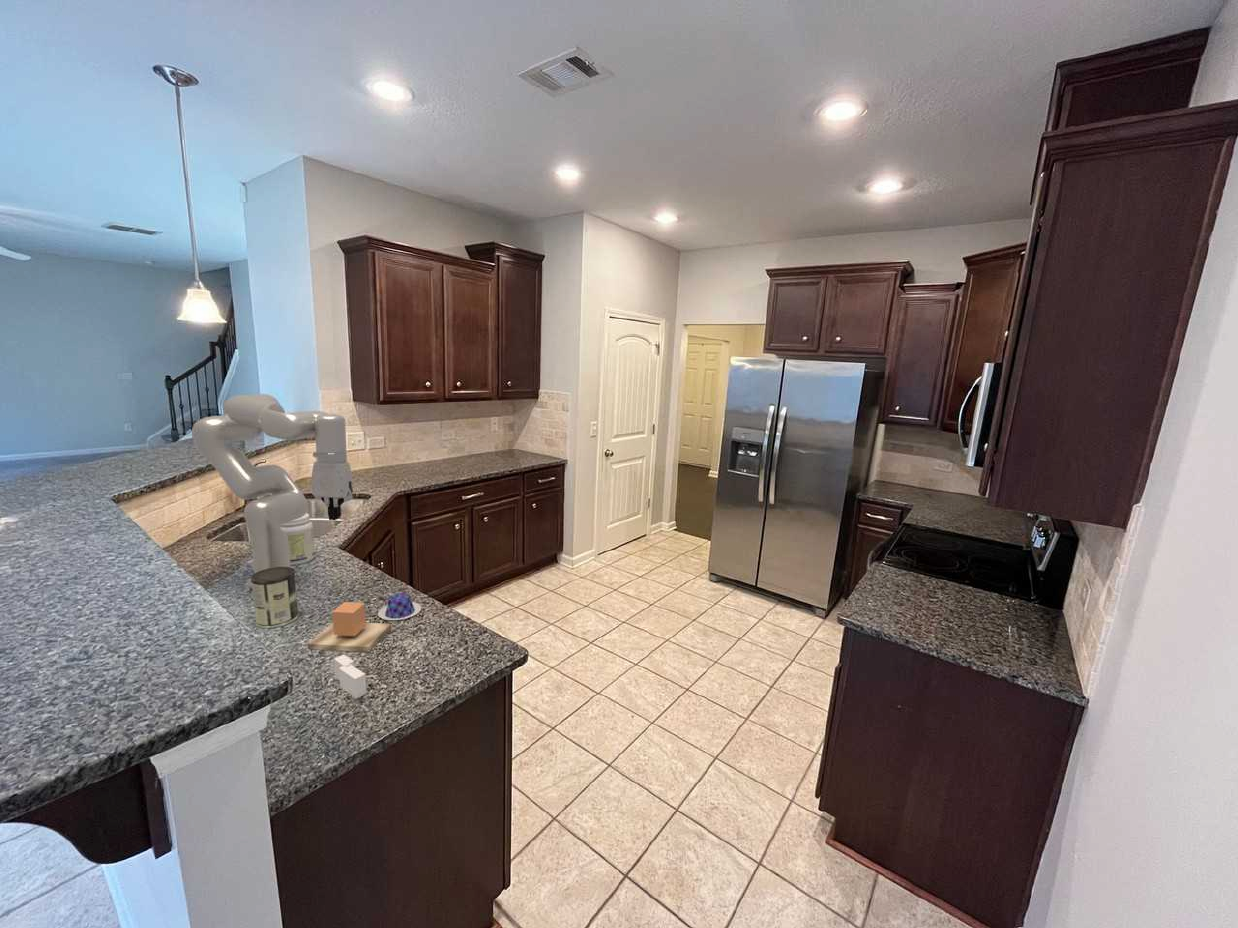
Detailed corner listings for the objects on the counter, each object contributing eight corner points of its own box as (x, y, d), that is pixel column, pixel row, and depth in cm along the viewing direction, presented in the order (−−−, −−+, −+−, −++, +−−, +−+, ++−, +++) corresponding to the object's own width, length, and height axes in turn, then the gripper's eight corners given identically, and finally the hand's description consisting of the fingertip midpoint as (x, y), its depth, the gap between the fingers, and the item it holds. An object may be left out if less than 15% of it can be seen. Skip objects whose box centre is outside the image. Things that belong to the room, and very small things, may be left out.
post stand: (308, 649, 131) (305, 618, 130) (335, 625, 143) (332, 597, 142) (369, 652, 131) (367, 621, 129) (390, 628, 143) (389, 600, 141)
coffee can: (281, 608, 152) (276, 564, 149) (306, 614, 149) (303, 569, 146) (246, 624, 142) (241, 577, 140) (273, 631, 139) (268, 583, 136)
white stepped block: (373, 701, 113) (372, 678, 112) (316, 709, 110) (314, 686, 109) (382, 664, 127) (381, 643, 126) (332, 670, 124) (330, 649, 123)
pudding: (369, 620, 148) (368, 603, 147) (393, 601, 159) (392, 586, 158) (407, 624, 146) (406, 607, 145) (428, 605, 158) (428, 590, 157)
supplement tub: (294, 553, 195) (290, 510, 192) (323, 555, 193) (320, 513, 190) (268, 564, 183) (264, 520, 180) (299, 567, 182) (295, 522, 178)
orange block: (334, 634, 134) (332, 611, 133) (346, 624, 139) (344, 602, 138) (354, 636, 134) (353, 612, 133) (366, 625, 139) (364, 603, 138)
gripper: (297, 458, 142) (301, 520, 145) (349, 461, 141) (352, 524, 145) (314, 453, 149) (318, 513, 153) (364, 457, 149) (366, 517, 152)
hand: (334, 518), depth 149 cm, fingers closed
